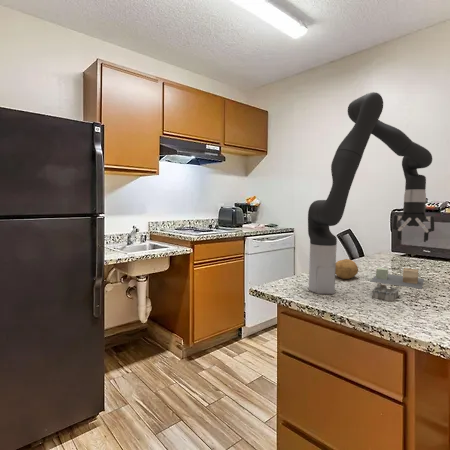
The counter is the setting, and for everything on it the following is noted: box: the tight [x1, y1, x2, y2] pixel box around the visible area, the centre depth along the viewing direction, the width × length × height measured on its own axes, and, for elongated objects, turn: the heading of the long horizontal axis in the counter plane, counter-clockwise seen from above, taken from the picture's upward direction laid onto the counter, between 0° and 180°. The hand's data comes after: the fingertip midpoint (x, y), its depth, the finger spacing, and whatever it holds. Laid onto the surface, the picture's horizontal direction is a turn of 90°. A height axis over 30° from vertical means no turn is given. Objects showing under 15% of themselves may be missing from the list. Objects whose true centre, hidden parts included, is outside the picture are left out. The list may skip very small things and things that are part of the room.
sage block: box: [375, 267, 389, 280], centre depth 132 cm, size 4×4×4 cm
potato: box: [335, 258, 359, 280], centre depth 131 cm, size 10×14×8 cm
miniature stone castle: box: [371, 282, 401, 302], centre depth 106 cm, size 10×7×4 cm
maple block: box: [402, 267, 419, 284], centre depth 126 cm, size 5×5×5 cm
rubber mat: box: [370, 273, 425, 290], centre depth 129 cm, size 20×18×1 cm
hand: (412, 241), depth 125 cm, fingers open, 8 cm apart
